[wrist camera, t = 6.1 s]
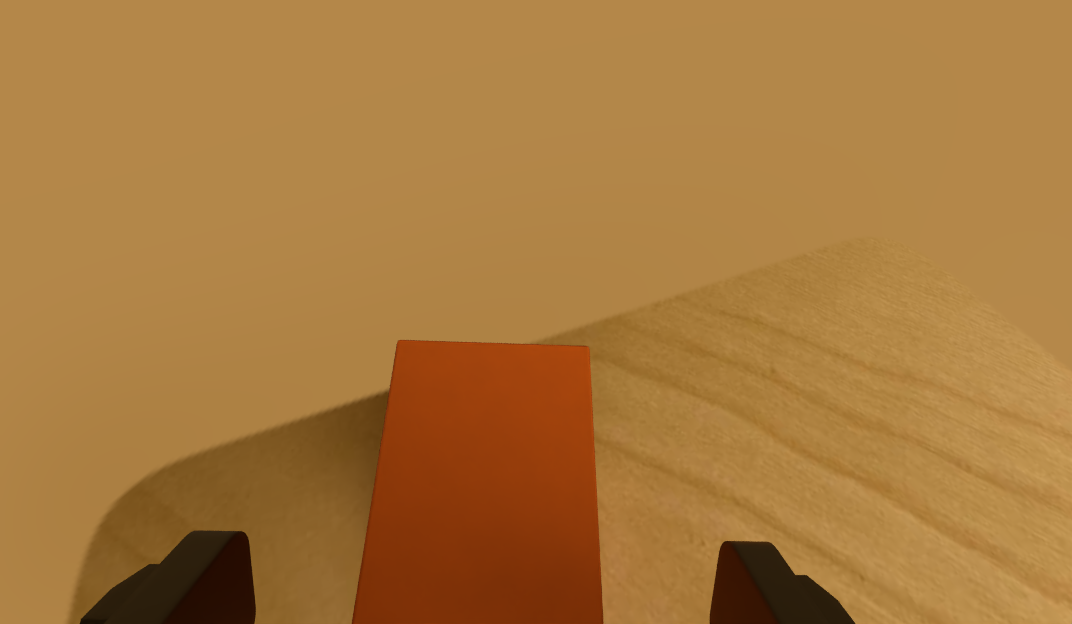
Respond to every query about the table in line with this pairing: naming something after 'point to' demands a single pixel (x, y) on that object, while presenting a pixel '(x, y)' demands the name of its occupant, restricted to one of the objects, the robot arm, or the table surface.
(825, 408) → the table surface
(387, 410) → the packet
